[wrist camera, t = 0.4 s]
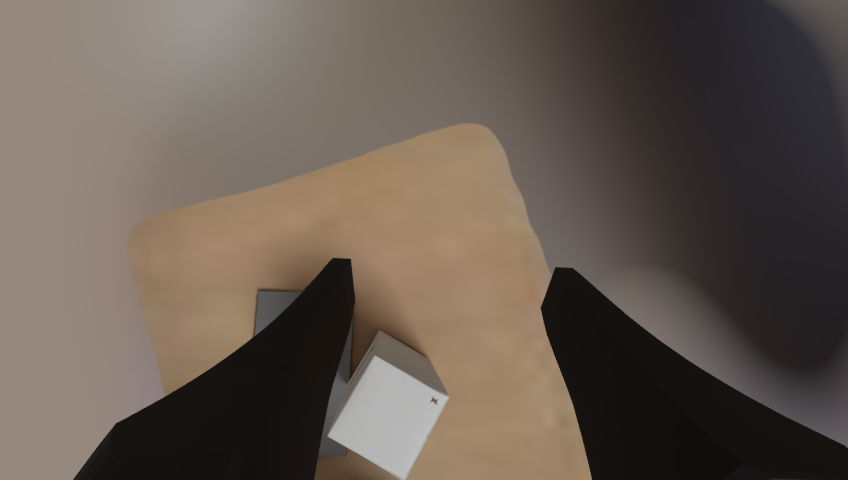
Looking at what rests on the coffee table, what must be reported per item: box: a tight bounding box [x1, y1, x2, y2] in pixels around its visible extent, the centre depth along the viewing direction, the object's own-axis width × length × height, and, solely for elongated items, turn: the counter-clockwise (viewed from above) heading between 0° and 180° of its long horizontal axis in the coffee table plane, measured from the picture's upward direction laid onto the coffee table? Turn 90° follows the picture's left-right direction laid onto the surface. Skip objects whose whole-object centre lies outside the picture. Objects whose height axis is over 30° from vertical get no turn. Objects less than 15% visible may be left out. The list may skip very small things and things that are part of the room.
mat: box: [255, 291, 353, 456], centre depth 38 cm, size 18×11×1 cm, turn 179°
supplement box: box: [327, 330, 449, 480], centre depth 32 cm, size 7×7×13 cm
